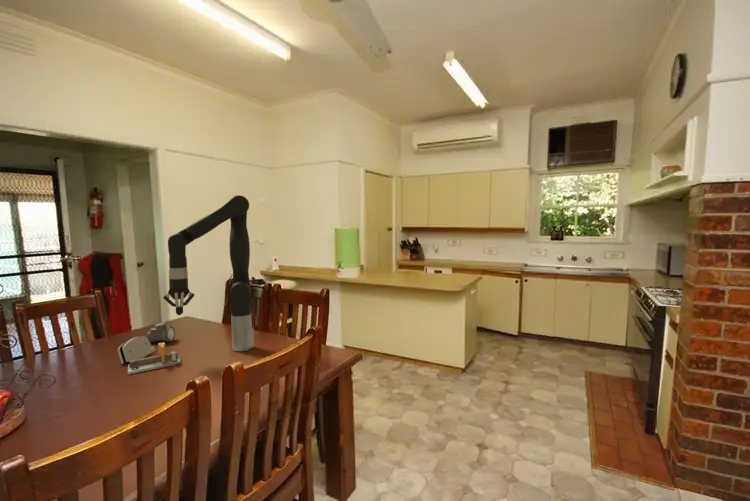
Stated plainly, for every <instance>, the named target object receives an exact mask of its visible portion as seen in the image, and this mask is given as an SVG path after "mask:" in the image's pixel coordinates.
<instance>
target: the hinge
mask: <svg viewBox="0 0 750 501" xmlns="http://www.w3.org/2000/svg"><path fill="white" fill-rule="evenodd" d="M146 336H147V335H146ZM146 336H145V335H142V336H135V337H133V338H130V339H128V340H127V341H125V342H123V343H122V344H120V346H119V347H118V348H117V353H118V357H119V360H120V363H121V364H122V365H123V364H125V363H129V361H131V360H137V359H142V358H146V357H147V356H149V355H150V354H153V353H154V352H156V351H157V350H156V347H155V346H152V344H151V342H149V340H148V338H147V337H146Z"/></svg>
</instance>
